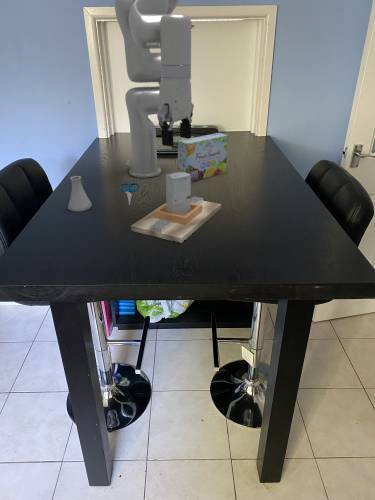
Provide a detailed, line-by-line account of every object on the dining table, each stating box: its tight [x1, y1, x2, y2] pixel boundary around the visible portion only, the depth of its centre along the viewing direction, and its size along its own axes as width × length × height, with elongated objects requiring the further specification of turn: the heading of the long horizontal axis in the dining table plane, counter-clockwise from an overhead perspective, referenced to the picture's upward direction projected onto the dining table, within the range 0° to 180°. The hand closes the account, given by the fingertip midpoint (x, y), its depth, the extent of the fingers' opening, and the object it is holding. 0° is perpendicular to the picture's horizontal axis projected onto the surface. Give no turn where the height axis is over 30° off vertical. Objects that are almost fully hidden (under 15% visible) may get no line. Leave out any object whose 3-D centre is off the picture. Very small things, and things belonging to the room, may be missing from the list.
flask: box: [67, 175, 93, 212], centre depth 118 cm, size 7×7×10 cm
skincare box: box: [165, 171, 192, 216], centre depth 109 cm, size 6×4×12 cm
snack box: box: [177, 132, 229, 183], centre depth 143 cm, size 21×6×15 cm, turn 131°
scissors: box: [119, 182, 140, 206], centre depth 130 cm, size 7×1×20 cm
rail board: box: [130, 196, 222, 244], centre depth 112 cm, size 16×26×4 cm, turn 152°
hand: (176, 141), depth 103 cm, fingers open, 9 cm apart
